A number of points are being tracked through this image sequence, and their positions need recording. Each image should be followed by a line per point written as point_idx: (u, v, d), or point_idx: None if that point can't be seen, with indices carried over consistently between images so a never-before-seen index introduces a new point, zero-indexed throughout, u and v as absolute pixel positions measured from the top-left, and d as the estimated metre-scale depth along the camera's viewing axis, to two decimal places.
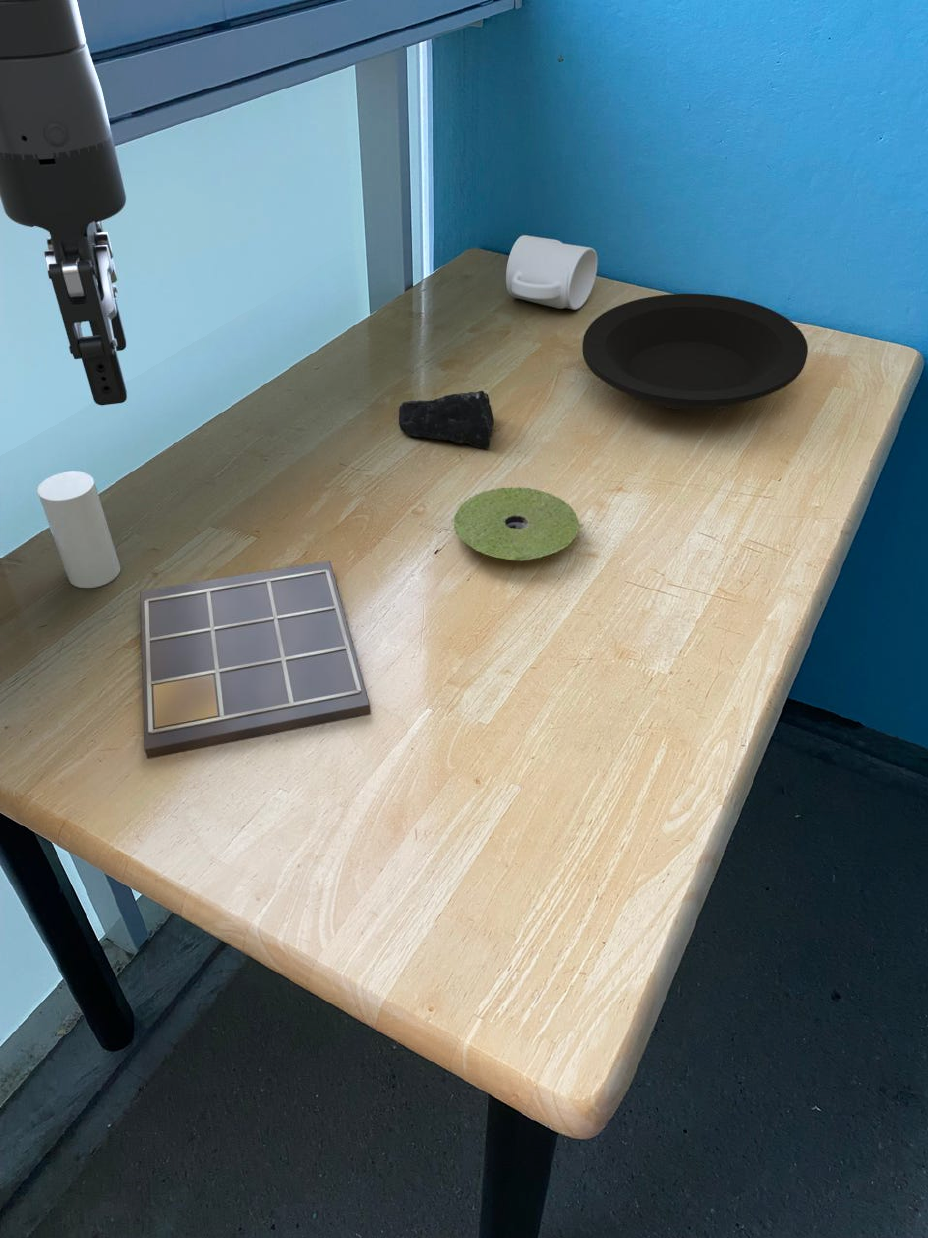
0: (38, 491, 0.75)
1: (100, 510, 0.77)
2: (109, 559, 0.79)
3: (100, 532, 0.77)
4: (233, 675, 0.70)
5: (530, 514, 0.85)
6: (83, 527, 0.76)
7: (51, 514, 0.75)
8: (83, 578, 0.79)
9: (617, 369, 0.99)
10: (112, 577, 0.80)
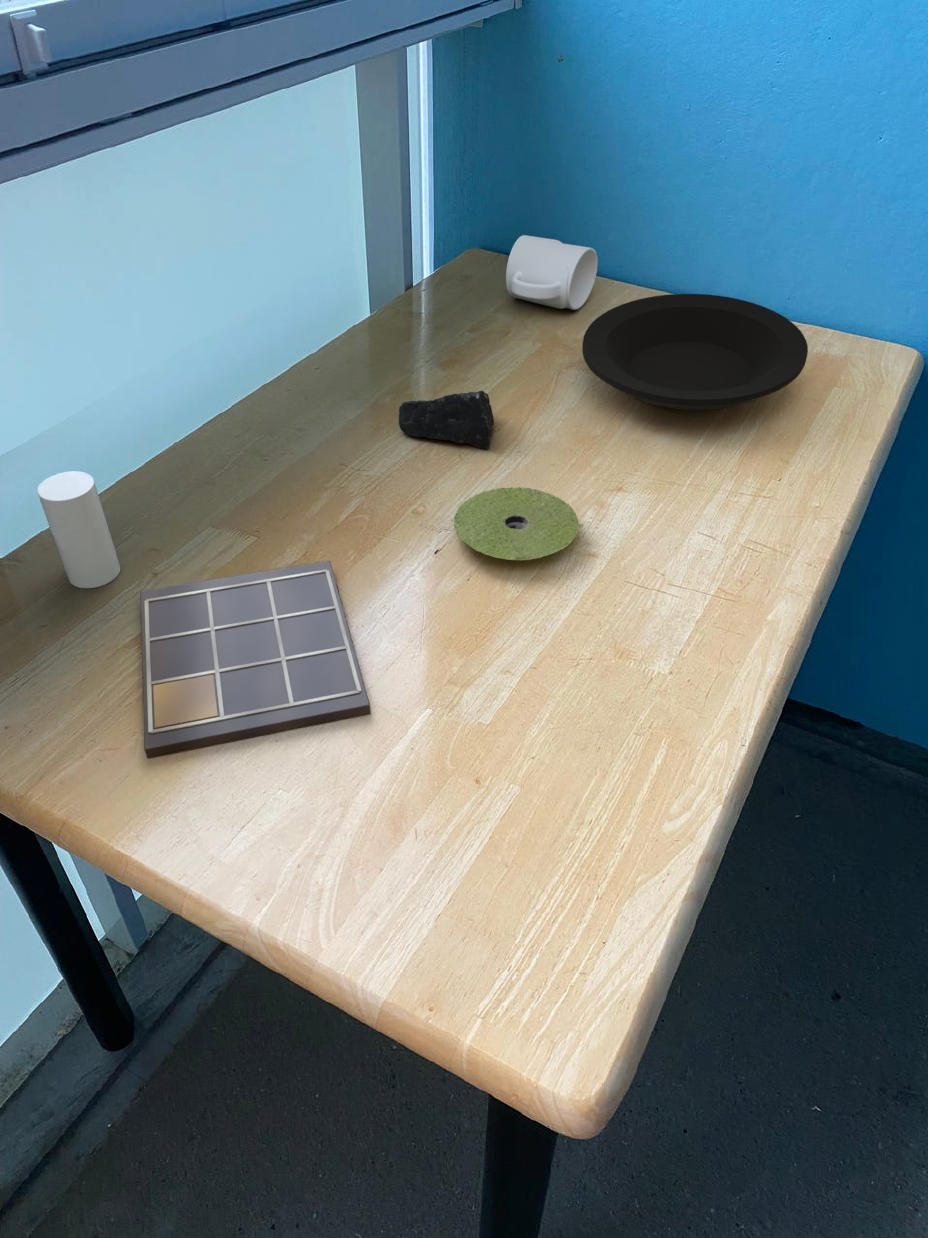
0: (38, 491, 0.75)
1: (100, 510, 0.77)
2: (109, 559, 0.79)
3: (100, 532, 0.77)
4: (233, 675, 0.70)
5: (530, 514, 0.85)
6: (83, 527, 0.76)
7: (51, 514, 0.75)
8: (83, 578, 0.79)
9: (617, 369, 0.99)
10: (112, 577, 0.80)
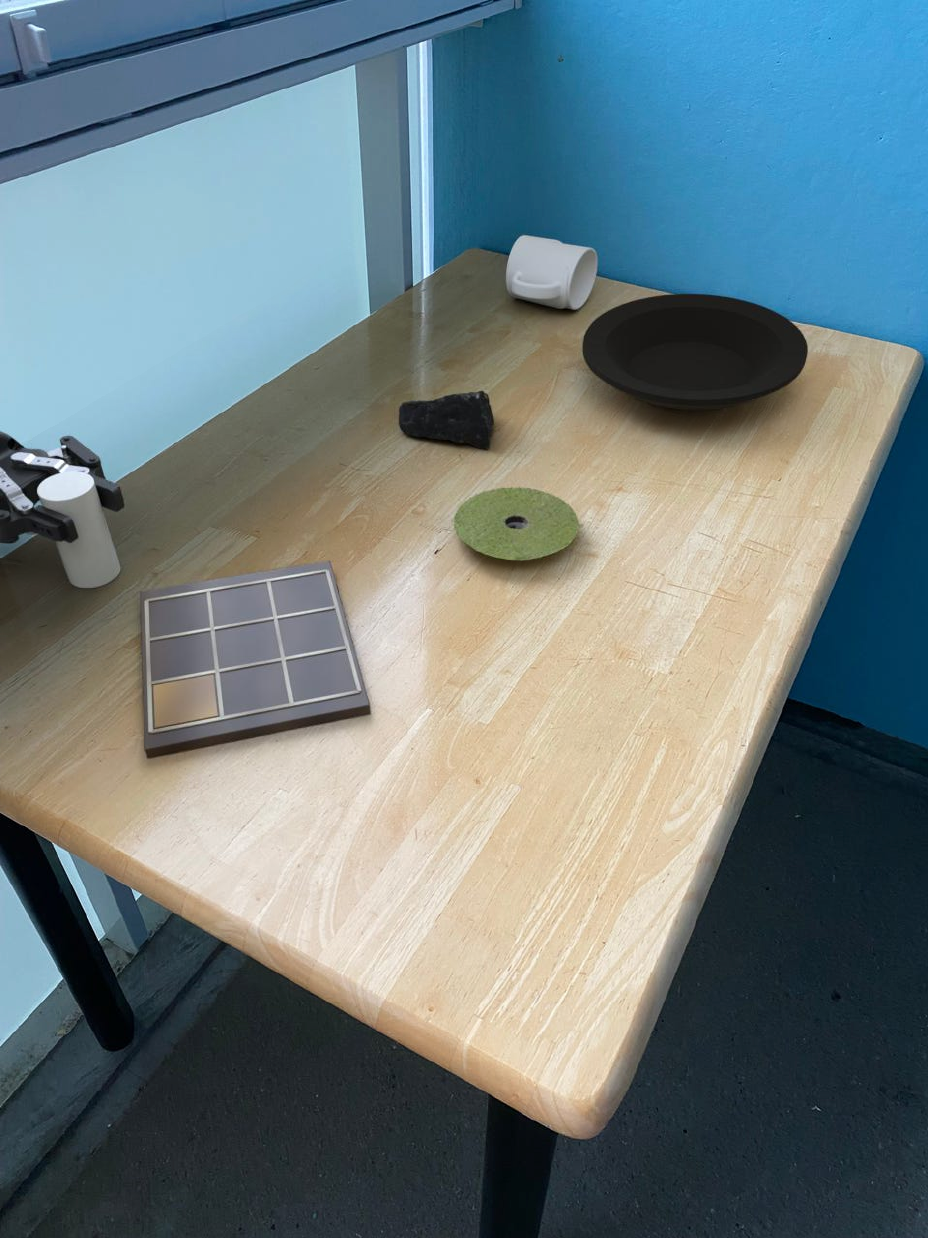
0: (38, 491, 0.75)
1: (100, 510, 0.77)
2: (109, 558, 0.79)
3: (100, 532, 0.77)
4: (233, 675, 0.70)
5: (530, 514, 0.85)
6: (83, 527, 0.76)
7: None
8: (83, 578, 0.79)
9: (617, 369, 0.99)
10: (112, 577, 0.80)
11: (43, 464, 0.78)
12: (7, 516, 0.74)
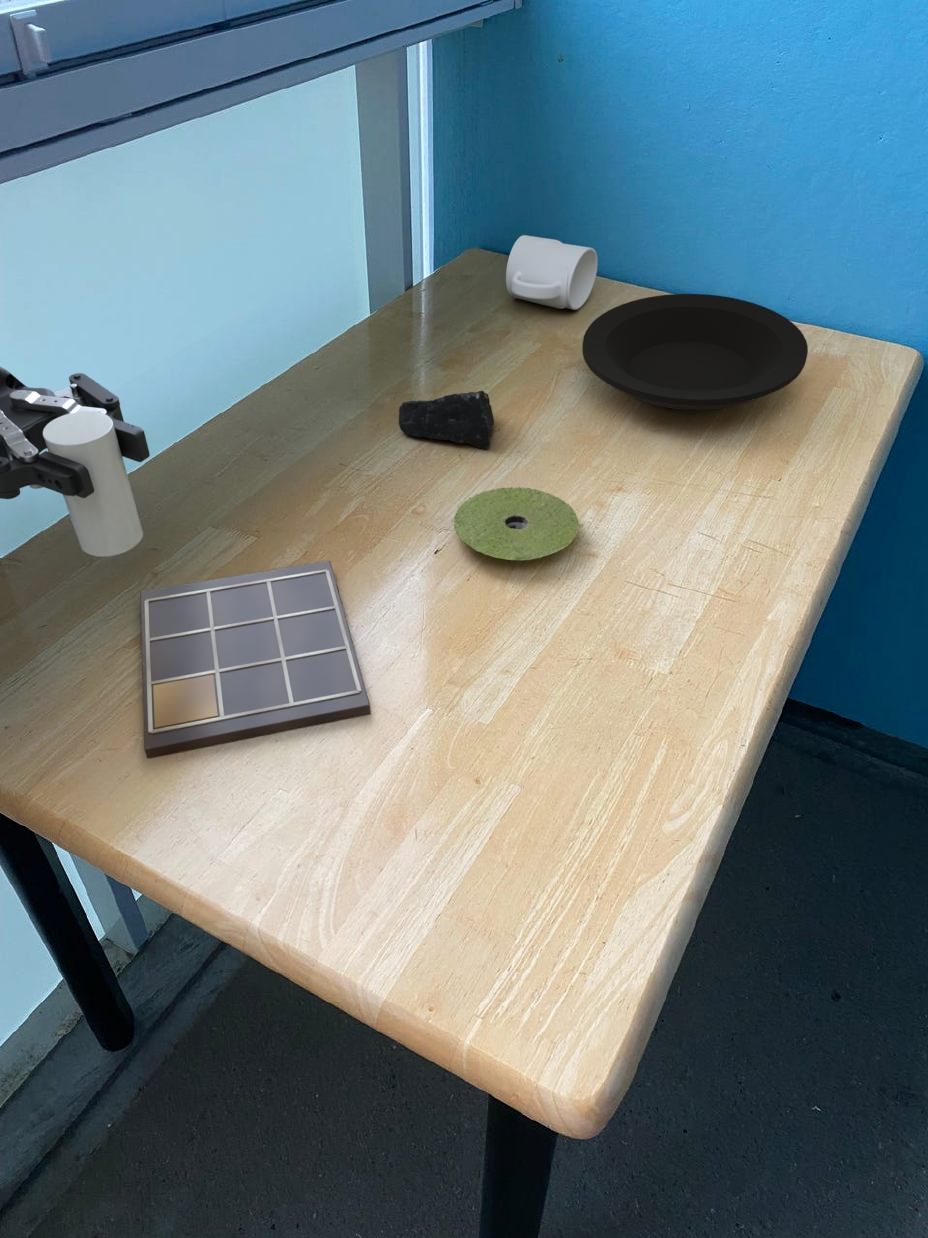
0: (44, 434, 0.60)
1: (120, 459, 0.63)
2: (131, 520, 0.65)
3: (120, 487, 0.63)
4: (233, 675, 0.70)
5: (530, 514, 0.85)
6: (100, 480, 0.62)
7: None
8: (99, 544, 0.65)
9: (617, 369, 0.99)
10: (133, 543, 0.66)
11: (49, 404, 0.64)
12: (6, 464, 0.59)
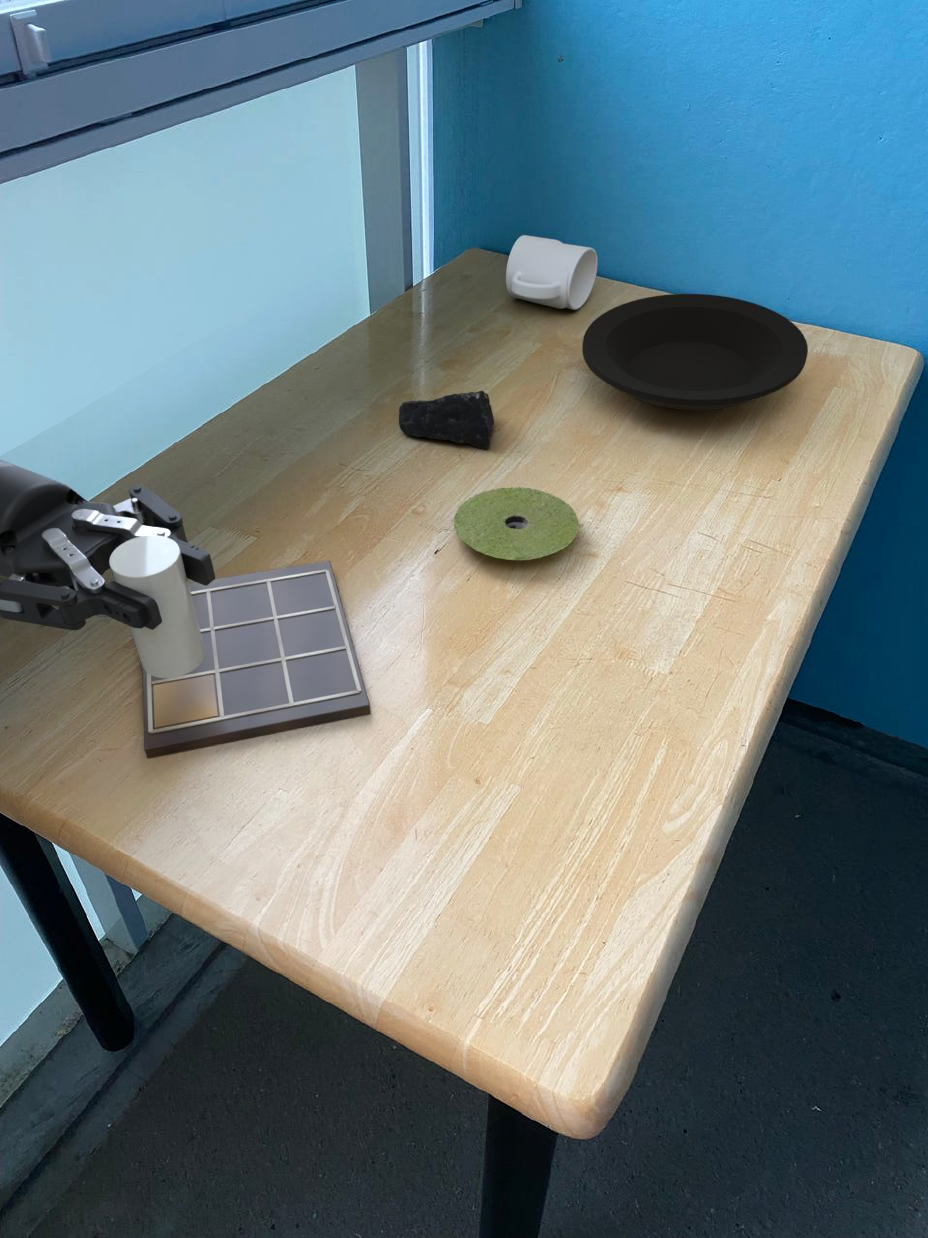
0: (111, 563, 0.59)
1: (186, 584, 0.61)
2: (195, 642, 0.64)
3: (186, 612, 0.62)
4: (233, 675, 0.70)
5: (530, 514, 0.85)
6: (167, 608, 0.60)
7: None
8: (162, 667, 0.63)
9: (617, 369, 0.99)
10: (197, 663, 0.65)
11: (113, 525, 0.63)
12: (73, 597, 0.58)
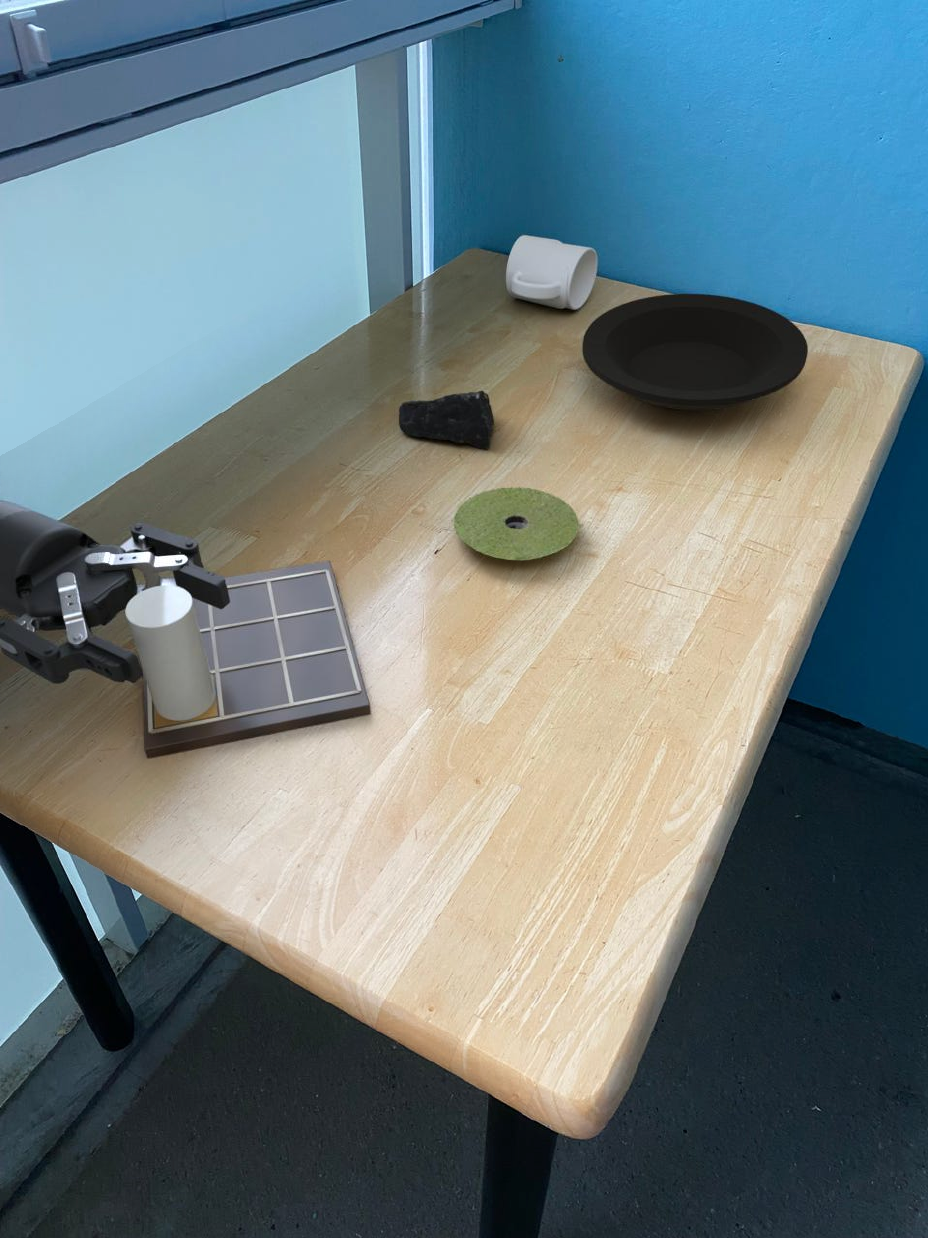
0: (127, 614, 0.62)
1: (198, 632, 0.64)
2: (206, 686, 0.66)
3: (198, 658, 0.64)
4: (233, 675, 0.70)
5: (530, 514, 0.85)
6: (180, 655, 0.63)
7: (143, 641, 0.62)
8: (175, 710, 0.66)
9: (617, 369, 0.99)
10: (208, 706, 0.67)
11: (130, 561, 0.66)
12: (56, 652, 0.59)
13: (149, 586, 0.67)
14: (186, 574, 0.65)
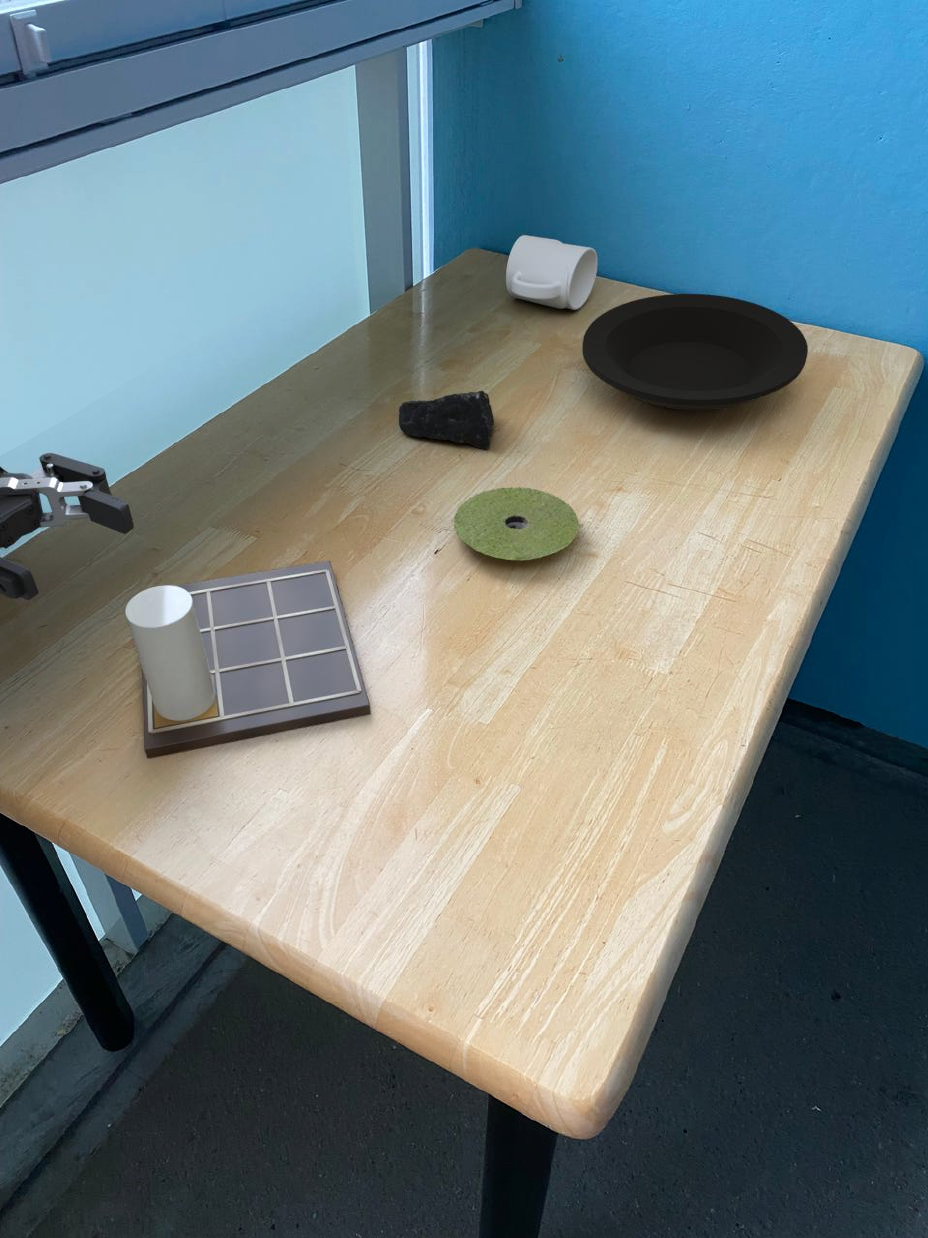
0: (127, 614, 0.62)
1: (198, 632, 0.64)
2: (206, 686, 0.66)
3: (198, 658, 0.64)
4: (233, 675, 0.70)
5: (530, 514, 0.85)
6: (180, 655, 0.63)
7: (143, 641, 0.62)
8: (175, 710, 0.66)
9: (617, 369, 0.99)
10: (208, 706, 0.67)
11: (34, 486, 0.66)
12: None
13: (54, 512, 0.67)
14: (89, 498, 0.66)
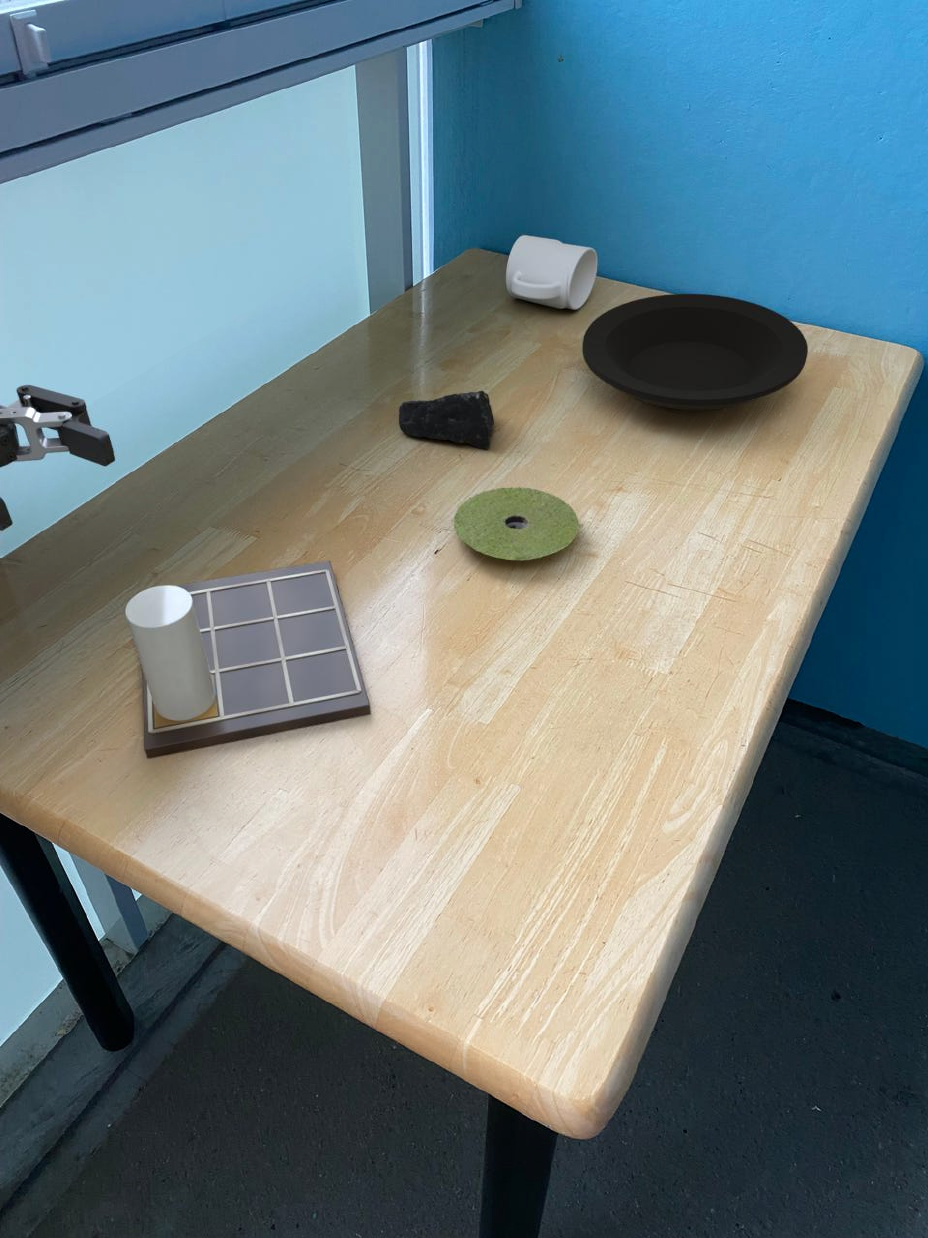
0: (127, 614, 0.62)
1: (198, 632, 0.64)
2: (206, 686, 0.66)
3: (198, 658, 0.64)
4: (233, 675, 0.70)
5: (530, 514, 0.85)
6: (180, 655, 0.63)
7: (143, 641, 0.62)
8: (175, 710, 0.66)
9: (617, 369, 0.99)
10: (208, 706, 0.67)
11: (9, 415, 0.62)
12: None
13: (31, 445, 0.64)
14: (68, 429, 0.62)
